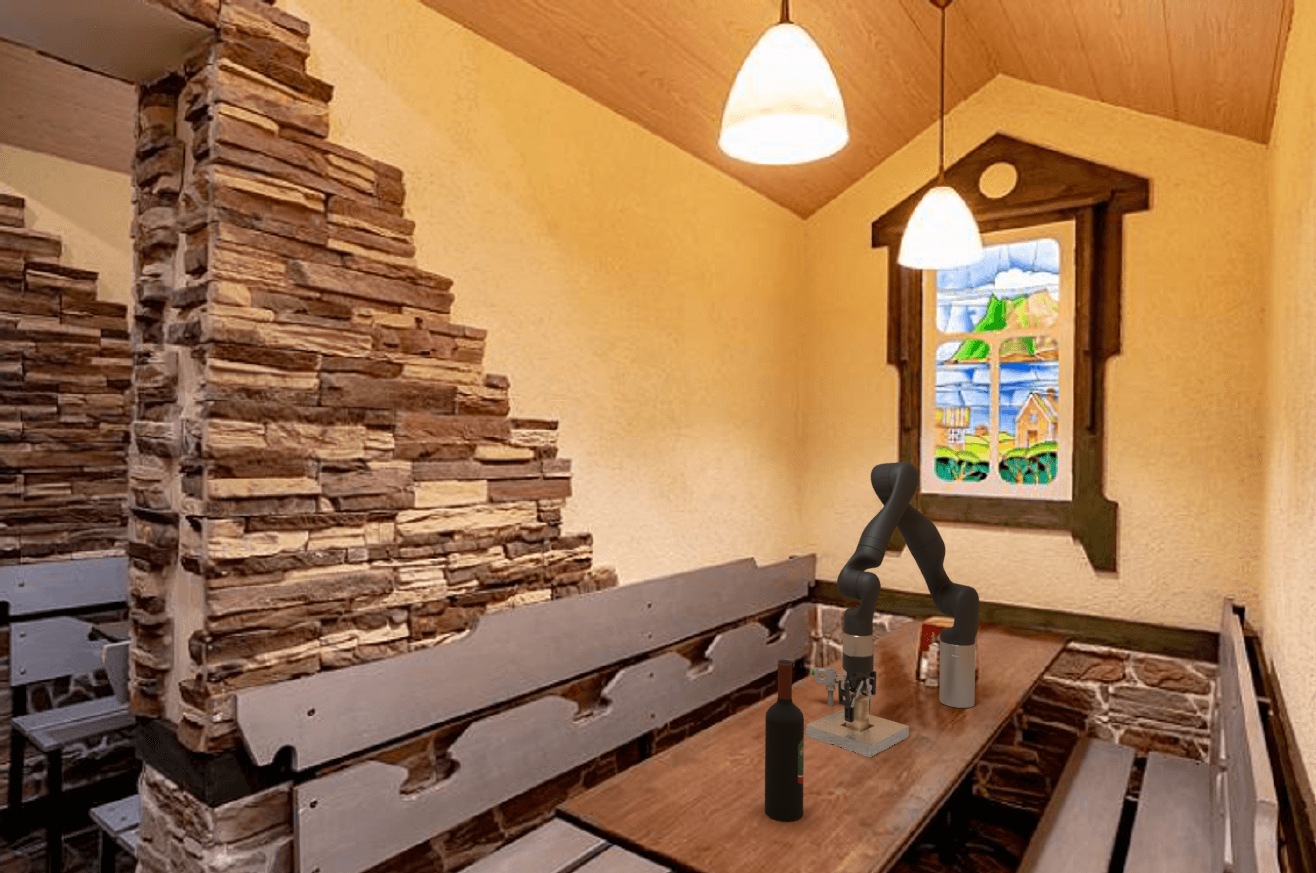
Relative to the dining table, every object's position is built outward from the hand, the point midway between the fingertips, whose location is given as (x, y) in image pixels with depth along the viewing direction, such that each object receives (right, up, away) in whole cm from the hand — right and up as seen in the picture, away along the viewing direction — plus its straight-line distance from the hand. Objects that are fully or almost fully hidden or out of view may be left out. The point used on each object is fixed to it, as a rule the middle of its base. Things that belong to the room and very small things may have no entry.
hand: (857, 717), depth 196 cm
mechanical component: (-2, -5, +22) cm, 23 cm away
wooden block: (0, -5, 0) cm, 5 cm away
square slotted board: (0, -5, 0) cm, 5 cm away
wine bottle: (-25, -5, -39) cm, 47 cm away
